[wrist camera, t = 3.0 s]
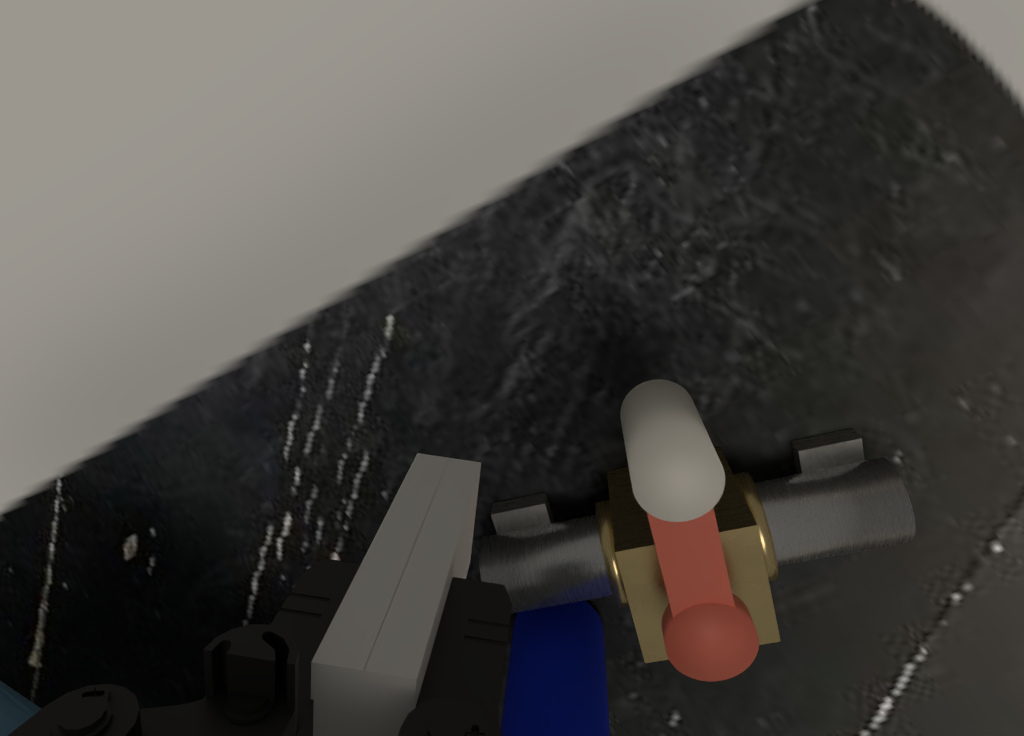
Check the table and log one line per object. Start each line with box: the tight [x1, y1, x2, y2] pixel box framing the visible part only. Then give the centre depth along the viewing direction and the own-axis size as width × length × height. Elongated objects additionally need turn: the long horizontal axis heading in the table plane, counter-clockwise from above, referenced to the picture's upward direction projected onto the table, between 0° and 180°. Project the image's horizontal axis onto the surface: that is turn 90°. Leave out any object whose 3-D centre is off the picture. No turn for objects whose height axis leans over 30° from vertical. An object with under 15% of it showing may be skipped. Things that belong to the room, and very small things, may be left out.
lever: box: [620, 379, 759, 681], centre depth 23 cm, size 13×4×6 cm, turn 16°
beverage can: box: [501, 601, 610, 736], centre depth 32 cm, size 5×5×15 cm
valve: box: [479, 428, 915, 663], centre depth 32 cm, size 20×6×9 cm, turn 106°
